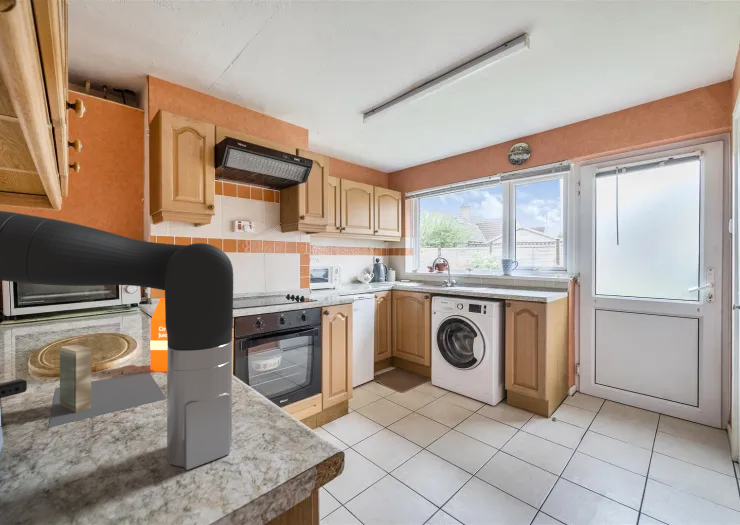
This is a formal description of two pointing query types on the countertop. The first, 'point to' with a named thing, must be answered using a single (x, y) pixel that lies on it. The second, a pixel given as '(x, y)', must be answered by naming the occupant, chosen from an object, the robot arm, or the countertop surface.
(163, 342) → the orange juice
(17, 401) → the countertop surface
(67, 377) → the birch plaque
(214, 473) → the countertop surface
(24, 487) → the countertop surface
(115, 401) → the rubber mat
